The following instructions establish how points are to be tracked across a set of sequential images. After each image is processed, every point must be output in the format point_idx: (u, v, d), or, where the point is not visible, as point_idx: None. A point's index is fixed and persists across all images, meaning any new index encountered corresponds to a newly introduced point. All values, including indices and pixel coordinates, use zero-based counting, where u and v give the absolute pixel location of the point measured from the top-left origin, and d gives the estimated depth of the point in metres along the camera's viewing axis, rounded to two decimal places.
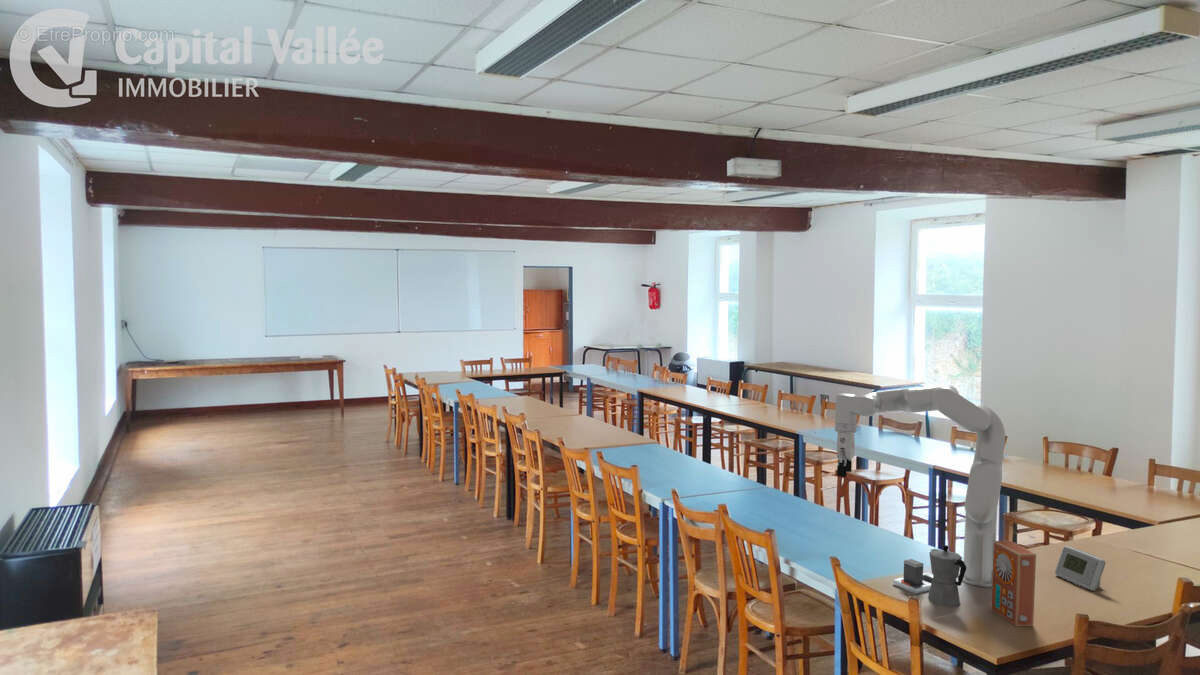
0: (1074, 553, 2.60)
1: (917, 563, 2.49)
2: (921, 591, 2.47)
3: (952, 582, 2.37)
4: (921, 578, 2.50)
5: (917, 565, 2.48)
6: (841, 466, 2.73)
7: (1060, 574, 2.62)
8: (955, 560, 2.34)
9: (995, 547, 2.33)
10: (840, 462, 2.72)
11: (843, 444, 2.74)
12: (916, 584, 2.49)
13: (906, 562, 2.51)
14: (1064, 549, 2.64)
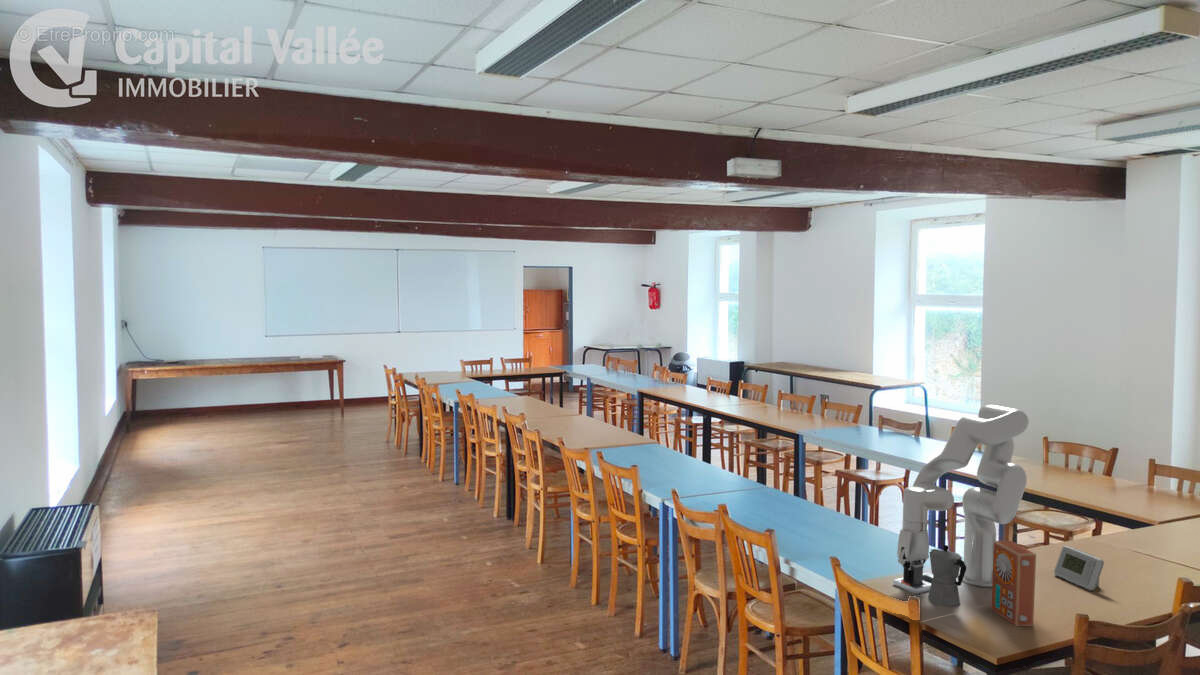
0: (1073, 552, 2.60)
1: (917, 563, 2.49)
2: (921, 591, 2.47)
3: (952, 582, 2.37)
4: (921, 578, 2.49)
5: (917, 565, 2.48)
6: None
7: (1059, 574, 2.62)
8: (955, 560, 2.34)
9: (995, 547, 2.33)
10: None
11: None
12: (916, 584, 2.49)
13: None
14: (1063, 549, 2.64)
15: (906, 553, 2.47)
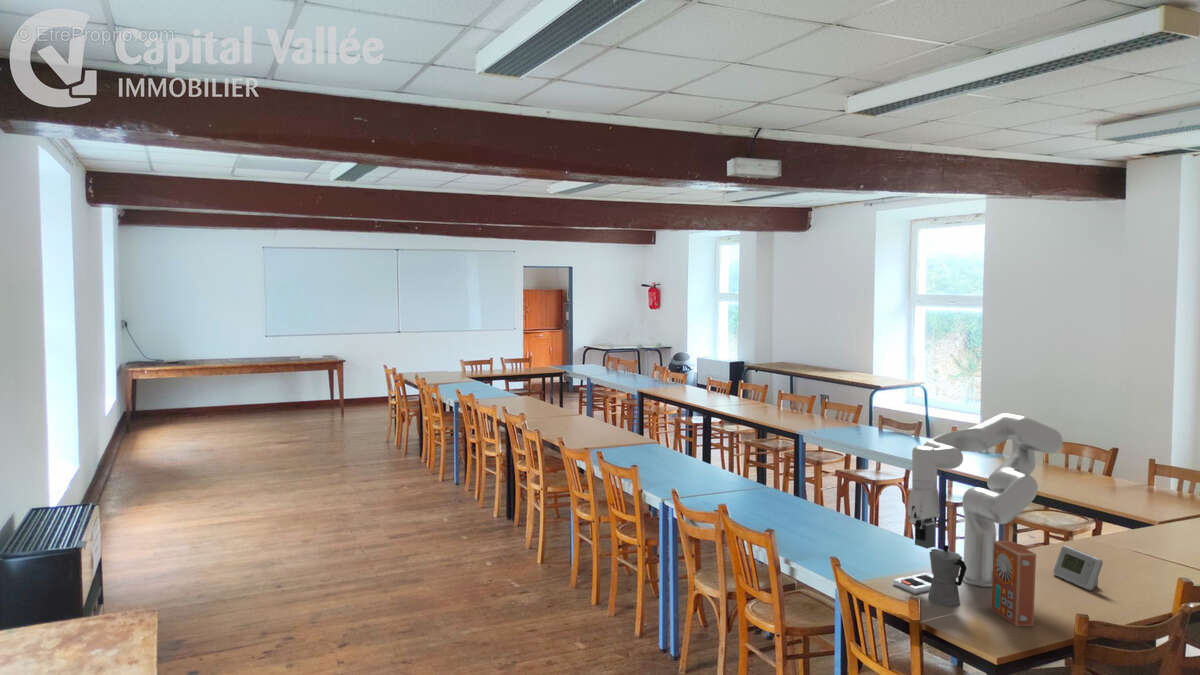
0: (1072, 552, 2.60)
1: (928, 521, 2.51)
2: (921, 591, 2.47)
3: (952, 582, 2.37)
4: (932, 536, 2.51)
5: (928, 523, 2.50)
6: None
7: (1058, 574, 2.63)
8: (955, 560, 2.34)
9: (995, 547, 2.33)
10: None
11: None
12: (928, 542, 2.50)
13: None
14: (1062, 549, 2.64)
15: (917, 512, 2.48)
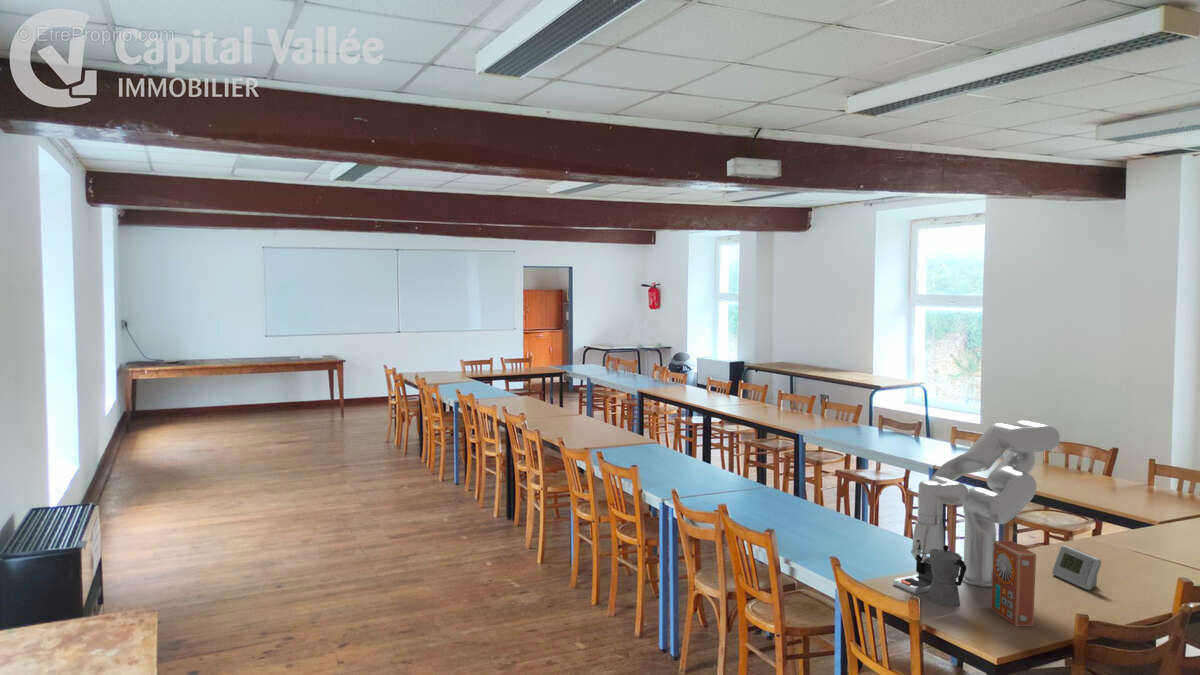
0: (1071, 552, 2.60)
1: None
2: (921, 591, 2.47)
3: (952, 582, 2.37)
4: None
5: None
6: None
7: (1057, 573, 2.63)
8: (955, 560, 2.34)
9: (995, 547, 2.33)
10: None
11: None
12: (931, 581, 2.52)
13: None
14: (1061, 548, 2.65)
15: (921, 546, 2.50)
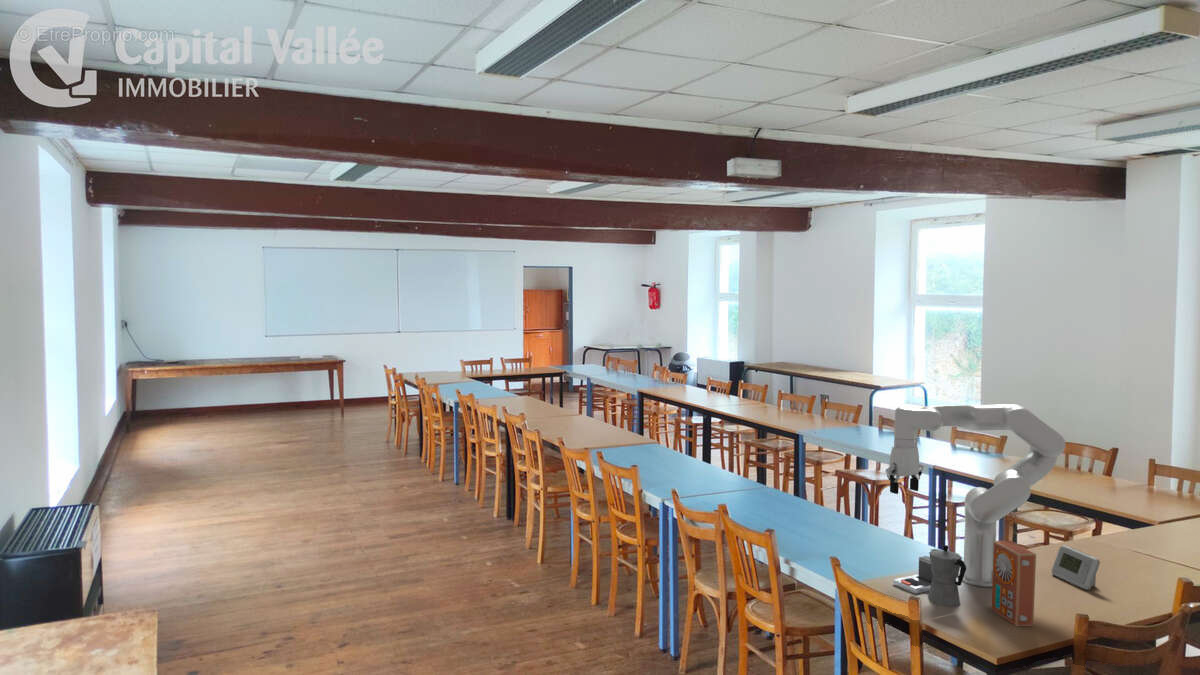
0: (1070, 552, 2.61)
1: None
2: (921, 591, 2.47)
3: (952, 582, 2.37)
4: None
5: None
6: None
7: (1056, 573, 2.63)
8: (955, 560, 2.34)
9: (995, 547, 2.33)
10: None
11: None
12: (931, 581, 2.52)
13: (921, 559, 2.55)
14: (1061, 548, 2.65)
15: (897, 468, 2.62)
